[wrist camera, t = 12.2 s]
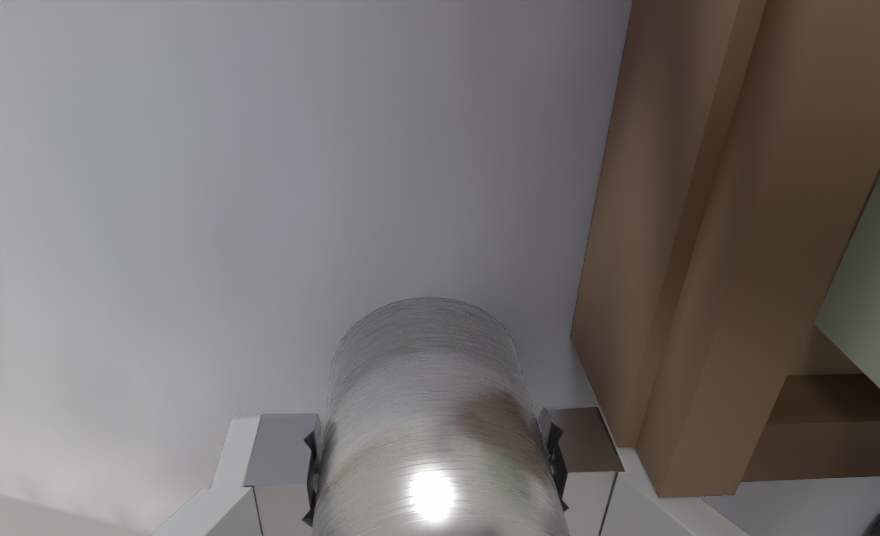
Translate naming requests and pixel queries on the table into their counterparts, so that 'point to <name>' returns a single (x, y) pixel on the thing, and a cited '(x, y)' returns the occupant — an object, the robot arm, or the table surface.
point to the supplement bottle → (877, 530)
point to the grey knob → (432, 430)
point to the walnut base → (733, 242)
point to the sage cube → (857, 295)
